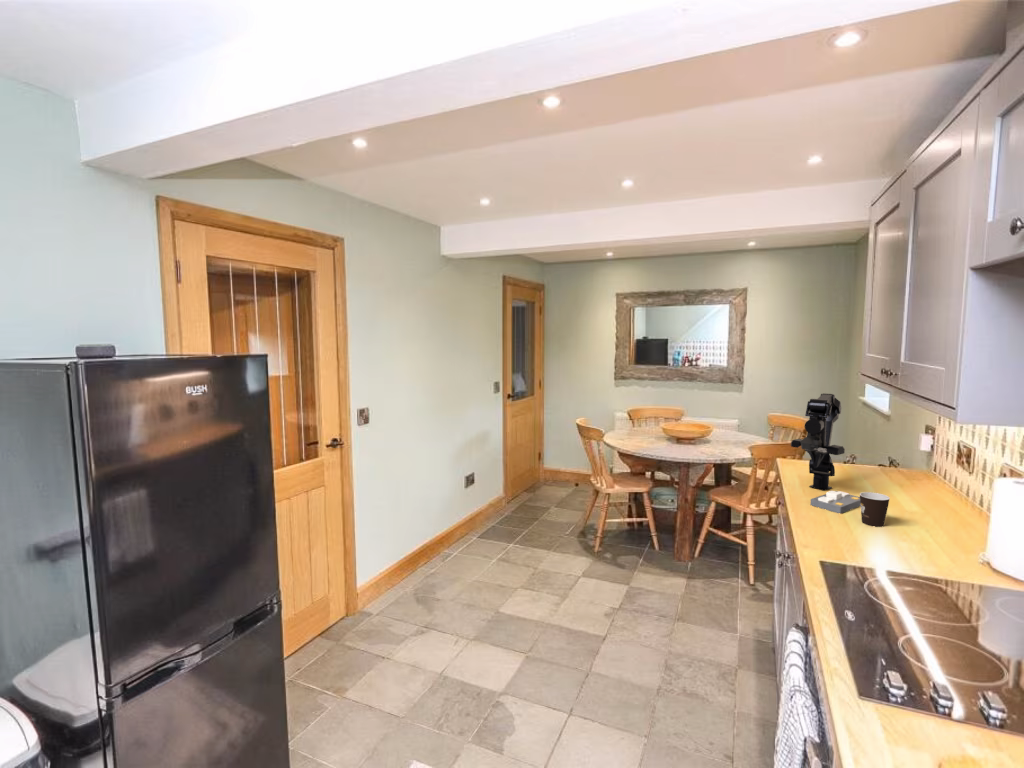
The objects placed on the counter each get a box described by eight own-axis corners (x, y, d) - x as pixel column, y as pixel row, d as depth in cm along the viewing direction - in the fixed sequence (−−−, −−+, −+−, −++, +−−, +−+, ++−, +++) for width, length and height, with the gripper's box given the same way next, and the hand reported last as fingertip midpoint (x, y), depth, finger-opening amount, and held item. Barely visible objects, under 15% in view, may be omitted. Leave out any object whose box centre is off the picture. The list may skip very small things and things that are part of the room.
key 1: (823, 503, 200) (823, 496, 199) (833, 506, 197) (833, 499, 196) (817, 505, 198) (818, 498, 198) (827, 508, 195) (828, 500, 194)
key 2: (838, 498, 206) (839, 491, 205) (849, 500, 202) (849, 493, 202) (833, 500, 204) (834, 492, 203) (844, 502, 200) (844, 495, 200)
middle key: (831, 497, 203) (831, 490, 202) (841, 500, 199) (841, 493, 199) (826, 499, 201) (826, 492, 200) (836, 502, 197) (836, 494, 197)
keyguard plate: (835, 496, 208) (835, 490, 208) (864, 504, 199) (865, 497, 198) (810, 505, 199) (810, 498, 199) (840, 513, 190) (840, 506, 189)
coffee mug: (887, 530, 174) (889, 501, 173) (857, 524, 179) (858, 497, 178) (888, 519, 183) (890, 492, 182) (859, 514, 188) (860, 488, 187)
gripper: (783, 428, 211) (782, 465, 213) (830, 436, 195) (828, 475, 197) (799, 425, 217) (797, 461, 219) (846, 432, 201) (844, 471, 203)
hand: (815, 467), depth 209 cm, fingers closed
